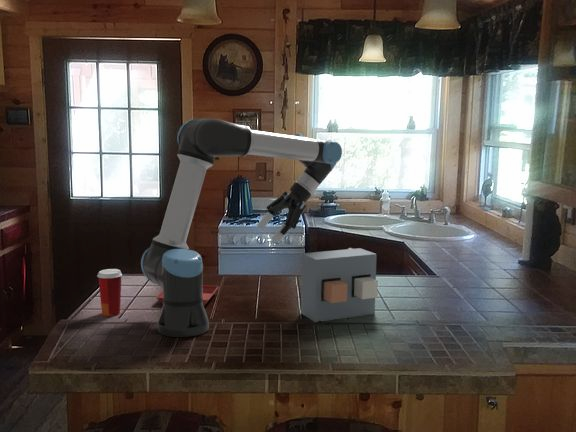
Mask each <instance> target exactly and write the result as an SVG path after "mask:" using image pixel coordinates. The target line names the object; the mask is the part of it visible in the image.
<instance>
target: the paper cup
mask: <svg viewBox="0 0 576 432" xmlns="http://www.w3.org/2000/svg"><path fill="white" fill-rule="evenodd" d="M122 276H123V274H122V271H121V270H120V269H118V268H107V269H102V270H100V271H98V273H97V275H96V277H97V278H98V285H99V298H100V308H101V314H102V316H105V317H115V316H118V315H120V314H121V303H122V302H121V301H122V300H121V296H122Z"/></svg>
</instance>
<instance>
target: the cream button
mask: <svg viewBox="0 0 576 432" xmlns="http://www.w3.org/2000/svg"><path fill="white" fill-rule="evenodd" d="M378 282H379V280H378V279H376V280H375V279H373V278H371V277H364V278H355V279H354V296H356V297H358V298H361V299H369V298H375V299H377V298H378V285H379V283H378Z"/></svg>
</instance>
